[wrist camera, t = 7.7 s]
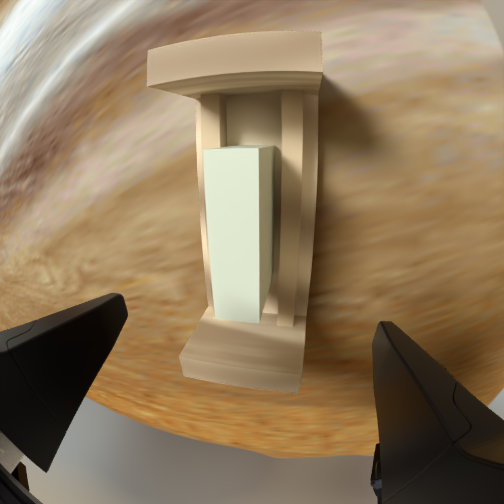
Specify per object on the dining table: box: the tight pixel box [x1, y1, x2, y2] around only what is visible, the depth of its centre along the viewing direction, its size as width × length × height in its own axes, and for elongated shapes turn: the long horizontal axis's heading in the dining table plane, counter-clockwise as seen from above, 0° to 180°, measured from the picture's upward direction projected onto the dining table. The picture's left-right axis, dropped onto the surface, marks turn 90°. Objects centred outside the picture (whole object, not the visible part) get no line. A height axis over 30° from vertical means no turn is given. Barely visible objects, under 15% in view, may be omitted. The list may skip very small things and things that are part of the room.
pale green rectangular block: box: [203, 145, 275, 324], centre depth 16 cm, size 9×3×6 cm, turn 1°
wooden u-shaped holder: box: [147, 31, 323, 394], centre depth 16 cm, size 20×8×7 cm, turn 1°
